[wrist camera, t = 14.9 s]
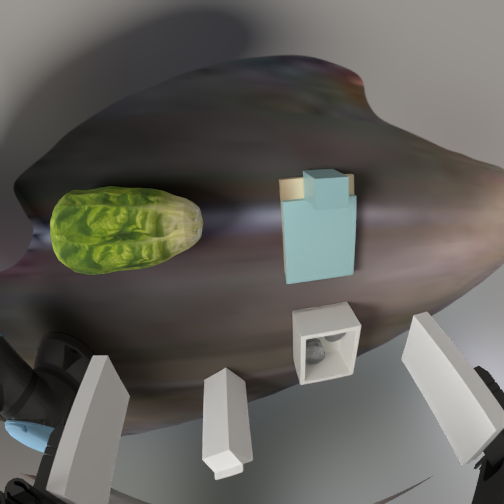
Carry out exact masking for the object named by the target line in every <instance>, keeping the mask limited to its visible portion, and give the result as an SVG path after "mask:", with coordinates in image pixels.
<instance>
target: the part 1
mask: <svg viewBox="0 0 504 504" xmlns="http://www.w3.org/2000/svg"><path fill="white" fill-rule="evenodd" d="M325 355H326V354H325V351H324V348H323V346H322V344H321V341H320V340H319V339H317V338H312V339H307V340H306V358H305V362H306V363H307V364H311V365H312V364H317V363H319V362H321V361H322V360H323V359H324V358H325Z"/></svg>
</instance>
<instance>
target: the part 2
mask: <svg viewBox="0 0 504 504" xmlns="http://www.w3.org/2000/svg"><path fill="white" fill-rule="evenodd" d="M345 333H346V332H345ZM345 333H340V334H334V335H329V336H324V337H325V339H326V340H327V341H329V342H335V341H338V340H340V339H341V338H342V337H343V336H344V335H345Z"/></svg>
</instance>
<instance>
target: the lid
mask: <svg viewBox="0 0 504 504" xmlns="http://www.w3.org/2000/svg"><path fill="white" fill-rule="evenodd" d="M303 185H304V198H302V199H292V200H282V201H281V204H282V220H283V236H284V254H285V274H286V283H287V284H291V283H299V282H306V281H313V280H320V279H326V278H333V277H340V276H346V275H353V270H354V254H355V235H356V198H357V196H356V195H354V194H350V195H349V177H348V176H346V175H344V174H342V173H340V172H338V171H336V170H334V169H320V170H305V171H303Z"/></svg>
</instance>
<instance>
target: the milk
mask: <svg viewBox="0 0 504 504" xmlns="http://www.w3.org/2000/svg"><path fill="white" fill-rule="evenodd" d="M202 452H203V453H202V456H203V457H202V459H203V461H204V462H205V463H206V464H207V465H208V466H209V467H210V468H211V469H212V470H213V471H214V473H215V479H216V480H218V479H222V478H225V477H228V476H232V475H235V474H238V473H241V472H243V464H245V463H247V462H250V461H252V460H253V455H252V445H251V436H250V426H249V416H248V406H247V395H246V385H245V381H244V380H243V379H241V378H240V377H238V376H237V375H236V374H234V373H233V372H232V371H230V370H229V369H228V368H224V369H222V370H221V371H219V372H217V373H215V374H214V375H212V376H210V377H208V378H207V379H205V380H204V405H203V449H202Z"/></svg>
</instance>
